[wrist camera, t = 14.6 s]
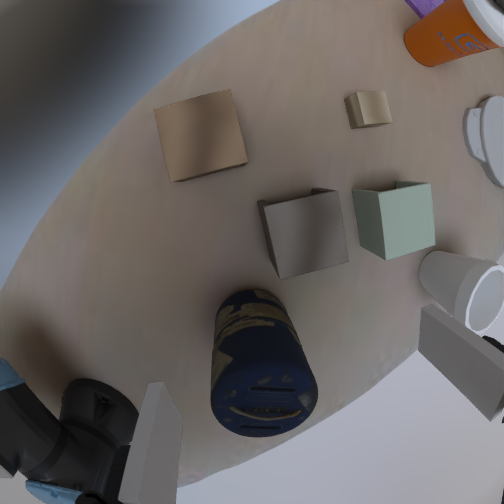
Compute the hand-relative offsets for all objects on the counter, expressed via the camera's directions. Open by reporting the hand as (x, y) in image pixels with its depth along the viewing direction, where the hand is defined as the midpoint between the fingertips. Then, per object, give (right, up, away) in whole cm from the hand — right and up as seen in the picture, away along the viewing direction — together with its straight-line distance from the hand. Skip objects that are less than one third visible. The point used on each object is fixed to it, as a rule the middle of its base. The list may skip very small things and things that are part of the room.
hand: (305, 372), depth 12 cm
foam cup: (+26, +3, +26) cm, 37 cm away
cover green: (+15, +11, +23) cm, 29 cm away
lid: (+41, +26, +22) cm, 53 cm away
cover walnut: (-8, +18, +19) cm, 28 cm away
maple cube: (+12, +23, +19) cm, 33 cm away
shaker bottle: (+24, +37, +17) cm, 47 cm away
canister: (-3, -3, +25) cm, 26 cm away
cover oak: (+3, +9, +22) cm, 24 cm away
